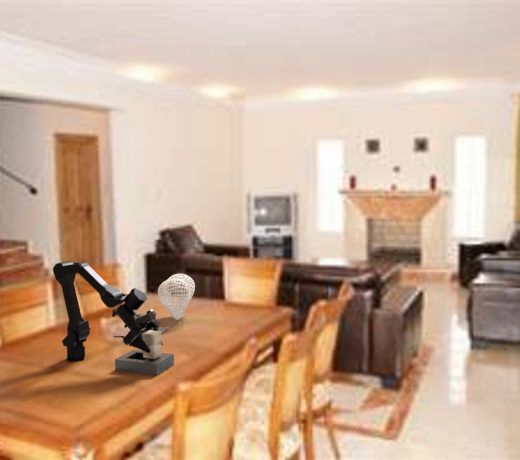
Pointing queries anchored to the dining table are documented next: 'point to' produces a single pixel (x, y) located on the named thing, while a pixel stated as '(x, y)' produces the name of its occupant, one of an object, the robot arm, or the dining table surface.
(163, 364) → the keyhole plate
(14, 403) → the dining table surface
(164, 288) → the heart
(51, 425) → the dining table surface
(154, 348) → the keyhole post
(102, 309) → the dining table surface
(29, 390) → the dining table surface
